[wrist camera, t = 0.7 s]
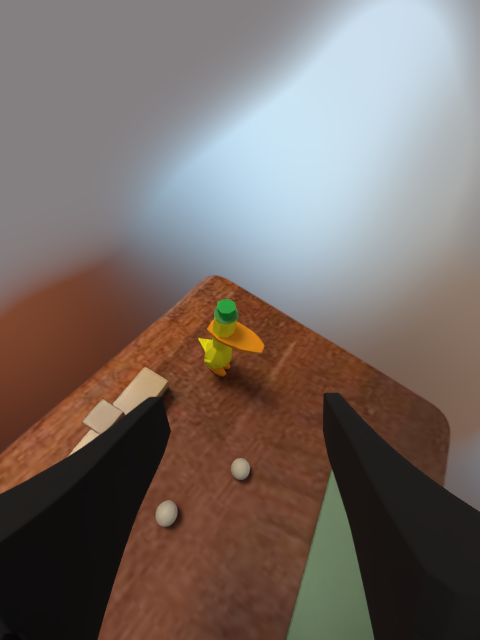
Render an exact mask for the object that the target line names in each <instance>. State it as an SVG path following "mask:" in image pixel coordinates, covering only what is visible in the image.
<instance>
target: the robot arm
mask: <svg viewBox="0 0 480 640" xmlns="http://www.w3.org/2000/svg"><path fill="white" fill-rule="evenodd" d="M170 432H171V430H170V427H169V423H168V419H167V415H166V411H165V407H164V403H163V399H162V397H148V398H147V399H146V400H144V401H143V402H142V403H140V404H139V405H138V406H136V407H135V408H134V409H133V410H131V411H130V412H129V413H127V414H126V415H125V416H124V417H122V418H121V419H120V420H119V421H117V422H116V423H115V424H113V425H112V426H111V427H110V428H108V429H107V430H106V431H104V432H103V433H101V434H100V435H99V436H97V437H96V438H95V439H93V440H92V441H90V442H89V443H88V444H86V445H85V446H83V447H82V448H80V449H79V450H77V451H76V452H74V453H73V454H71V455H70V456H68V457H67V458H65V459H63V460H62V461H60V462H59V463H57V464H55V465H54V466H52V467H50V468H48V469H46V470H45V471H43V472H41V473H39V474H38V475H36V476H34V477H32V478H30V479H29V480H27V481H25V482H23V483H21V484H19V485H17V486H15V487H13V488H12V489H10V490H8V491H6V492H4V493H2V494H0V640H97V639H98V636H99V632H100V628H101V625H102V621H103V617H104V614H105V611H106V607H107V604H108V601H109V597H110V594H111V591H112V587H113V584H114V581H115V577H116V574H117V571H118V568H119V565H120V562H121V559H122V556H123V553H124V550H125V546H126V544H127V541H128V538H129V535H130V532H131V529H132V526H133V524H134V521H135V518H136V515H137V513H138V511H139V508H140V506H141V503H142V501H143V499H144V497H145V495H146V492H147V490H148V488H149V486H150V484H151V481H152V479H153V477H154V475H155V473H156V470H157V468H158V466H159V464H160V461H161V459H162V457H163V454H164V452H165V449H166V446H167V442H168V439H169V436H170ZM323 433H324V438H325V444H326V448H327V453H328V457H329V460H330V464H331V467H332V470H333V473H334V476H335V480H336V483H337V486H338V489H339V492H340V495H341V499H342V502H343V505H344V508H345V511H346V514H347V518H348V522H349V525H350V529H351V534H352V538H353V542H354V547H355V551H356V555H357V560H358V564H359V569H360V574H361V578H362V583H363V587H364V592H365V597H366V601H367V606H368V611H369V616H370V621H371V626H372V630H373V635H374V640H480V512H479V511H478V510H476V509H474V508H473V507H471V506H470V505H468V504H467V503H465V502H464V501H462V500H461V499H459V498H458V497H456V496H455V495H453V494H452V493H450V492H449V491H448V490H446V489H445V488H443V487H442V486H441V485H439V484H438V483H436V482H435V481H433V480H432V479H431V478H429V477H428V476H427V475H425V474H424V473H423V472H421V471H420V470H419V469H417V468H416V467H415V466H414V465H412V464H411V463H410V462H409V461H407V460H406V459H405V458H404V457H402V456H401V455H400V454H399V453H398V452H397V451H395V450H394V449H393V448H392V447H391V446H390V445H389V444H388V443H387V442H386V441H384V440H383V439H382V438H381V437H380V436H379V435H378V434H377V433H376V432H375V431H374V430H373V429H372V428H371V427H370V426H369V425H368V424H367V423H366V422H365V421H364V420H363V419H362V418H361V417H360V416H359V415H358V414H357V412H356V411H355V410H354V409H353V408H352V407H351V406H350V405H349V404H348V402H347V401H346V400H345V399H344V398H343V397H342V396H341V395H340V394H339V393H324V403H323Z"/></svg>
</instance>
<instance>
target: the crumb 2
mask: <svg viewBox="0 0 480 640" xmlns="http://www.w3.org/2000/svg"><path fill="white" fill-rule="evenodd" d="M231 472H232V475H233V476H234V477H235V478H236V479H238V480H243V479H245V478H246V477H247V476H248V475H249V472H250V466H249V463H248V462H247V461H246V460H245V459H243V458H238V459H236V460H235V461H234V462H233V463H232V466H231Z"/></svg>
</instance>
